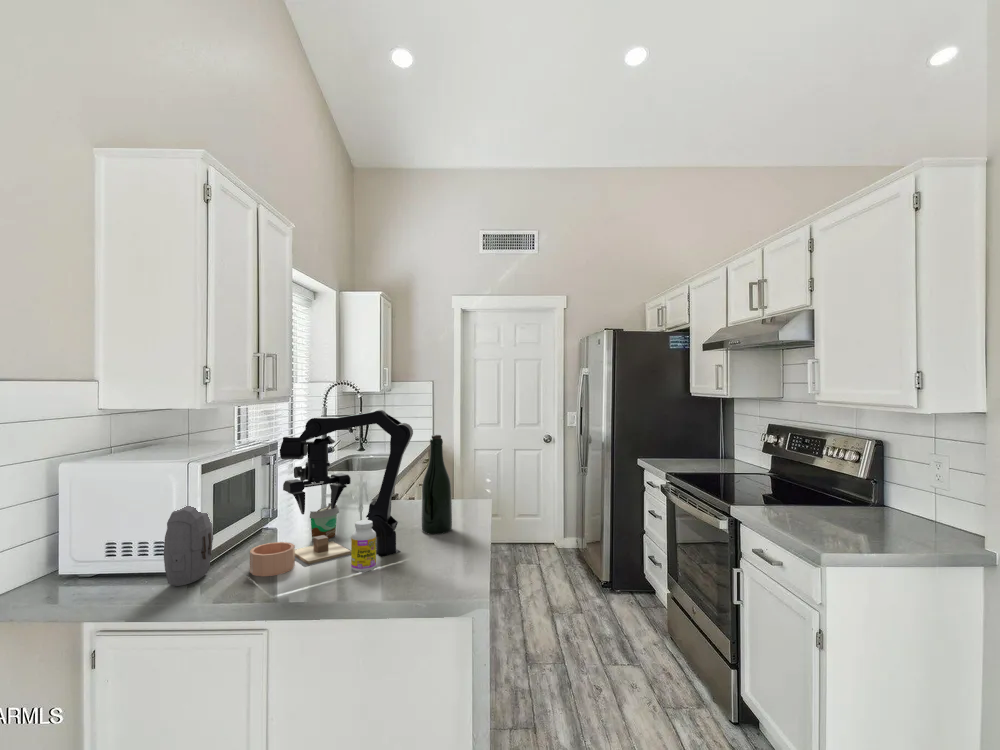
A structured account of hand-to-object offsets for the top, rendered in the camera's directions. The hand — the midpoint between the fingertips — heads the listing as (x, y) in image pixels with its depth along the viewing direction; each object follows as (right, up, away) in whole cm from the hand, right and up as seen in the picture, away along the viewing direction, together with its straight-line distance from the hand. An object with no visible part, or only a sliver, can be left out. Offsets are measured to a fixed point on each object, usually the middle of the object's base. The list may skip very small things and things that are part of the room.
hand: (317, 511), depth 157 cm
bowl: (-8, -13, -13) cm, 20 cm away
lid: (+1, -12, 0) cm, 12 cm away
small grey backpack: (-26, -13, -20) cm, 35 cm away
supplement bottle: (+17, -13, -12) cm, 24 cm away
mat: (+1, -13, 0) cm, 13 cm away
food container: (-2, -13, +17) cm, 22 cm away
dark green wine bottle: (+33, -13, +24) cm, 43 cm away
